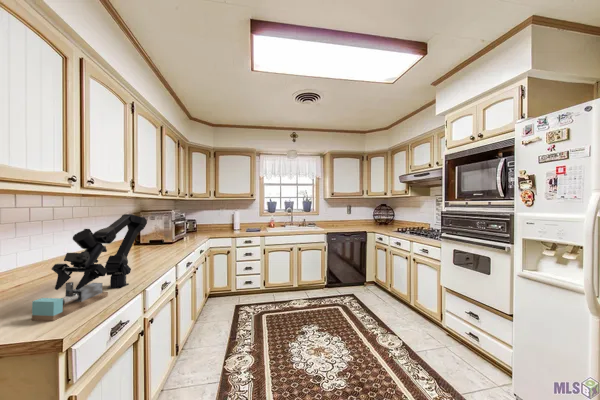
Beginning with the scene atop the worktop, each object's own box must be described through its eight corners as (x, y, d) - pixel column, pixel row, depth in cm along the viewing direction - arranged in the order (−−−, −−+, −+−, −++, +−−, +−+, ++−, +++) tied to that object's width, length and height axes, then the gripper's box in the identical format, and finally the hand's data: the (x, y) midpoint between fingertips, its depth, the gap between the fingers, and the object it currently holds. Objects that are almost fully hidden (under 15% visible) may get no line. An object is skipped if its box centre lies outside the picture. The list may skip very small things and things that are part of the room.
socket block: (41, 311, 91) (42, 297, 91) (62, 311, 91) (62, 298, 91) (31, 315, 88) (32, 301, 88) (53, 315, 87) (53, 301, 88)
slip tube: (87, 293, 107) (87, 275, 107) (93, 294, 107) (94, 276, 107) (55, 306, 93) (56, 286, 94) (63, 306, 93) (63, 286, 93)
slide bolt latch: (90, 295, 111) (91, 281, 111) (107, 296, 111) (108, 282, 111) (31, 320, 88) (32, 302, 88) (53, 320, 87) (53, 303, 88)
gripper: (56, 244, 101) (26, 279, 90) (102, 244, 102) (77, 279, 90) (73, 259, 109) (47, 293, 98) (115, 259, 109) (94, 293, 98)
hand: (66, 289), depth 96 cm, fingers open, 8 cm apart
